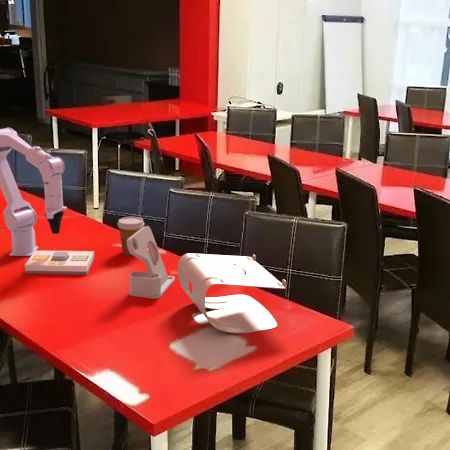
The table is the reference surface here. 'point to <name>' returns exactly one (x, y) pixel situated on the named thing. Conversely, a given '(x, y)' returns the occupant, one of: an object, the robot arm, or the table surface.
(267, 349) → the table surface
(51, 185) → the robot arm
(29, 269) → the keyguard panel
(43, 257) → the key ochre
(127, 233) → the disposable coffee cup
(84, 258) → the key sage
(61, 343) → the table surface
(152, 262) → the phone holder
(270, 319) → the portable electronic device stand
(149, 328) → the table surface
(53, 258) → the key slate
